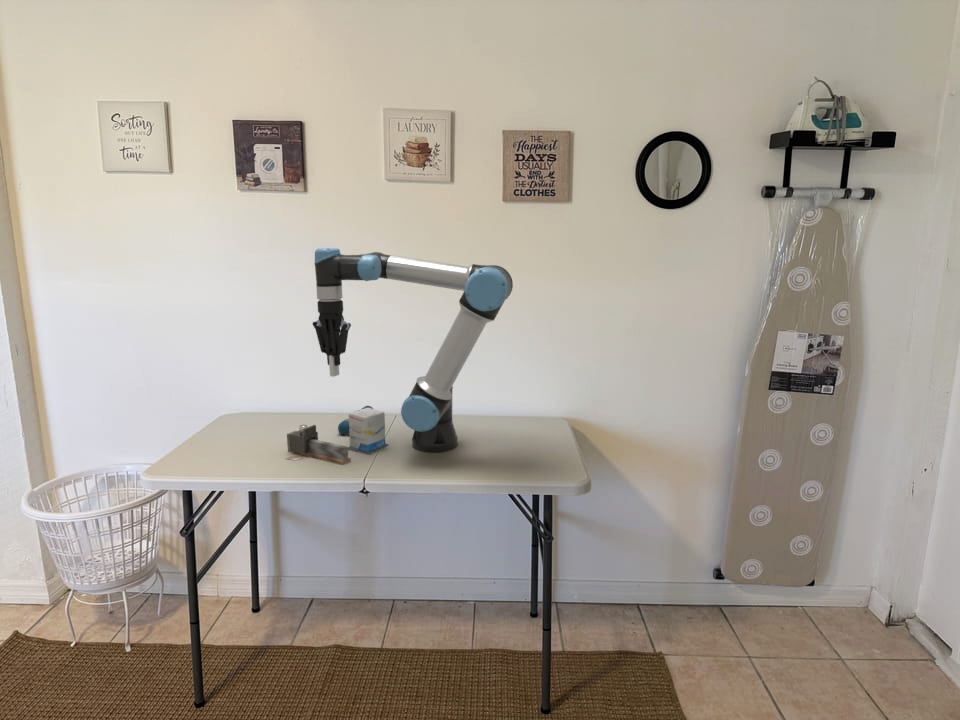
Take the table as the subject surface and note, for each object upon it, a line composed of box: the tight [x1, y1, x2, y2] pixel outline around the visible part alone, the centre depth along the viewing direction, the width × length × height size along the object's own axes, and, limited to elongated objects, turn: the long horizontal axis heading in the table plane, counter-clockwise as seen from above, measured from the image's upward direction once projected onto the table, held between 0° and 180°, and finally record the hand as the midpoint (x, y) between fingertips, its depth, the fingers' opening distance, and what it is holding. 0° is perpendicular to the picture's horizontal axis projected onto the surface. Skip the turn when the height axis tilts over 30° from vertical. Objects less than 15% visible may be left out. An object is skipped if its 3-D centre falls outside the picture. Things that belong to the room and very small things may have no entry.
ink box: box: [348, 408, 386, 452], centre depth 200 cm, size 9×8×12 cm
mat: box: [347, 442, 389, 455], centre depth 201 cm, size 10×10×1 cm
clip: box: [290, 424, 319, 454], centre depth 194 cm, size 6×6×8 cm
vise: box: [285, 430, 351, 466], centre depth 190 cm, size 22×8×6 cm, turn 62°
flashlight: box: [337, 405, 374, 436], centre depth 221 cm, size 5×22×5 cm, turn 166°
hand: (334, 375), depth 190 cm, fingers closed
